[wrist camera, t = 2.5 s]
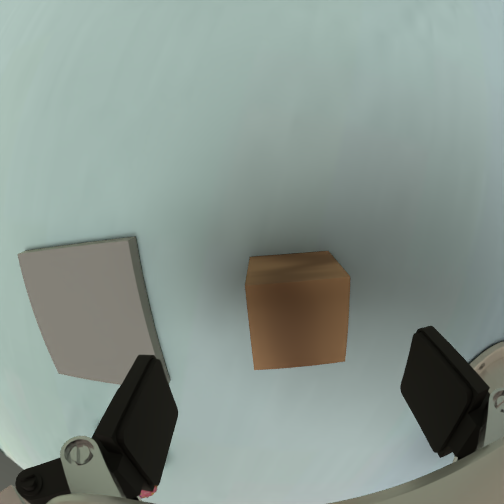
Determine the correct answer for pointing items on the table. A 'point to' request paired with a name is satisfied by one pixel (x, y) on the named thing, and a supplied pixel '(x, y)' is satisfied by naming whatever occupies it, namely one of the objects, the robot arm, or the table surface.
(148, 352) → the slate coaster
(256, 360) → the walnut cube
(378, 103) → the table surface
